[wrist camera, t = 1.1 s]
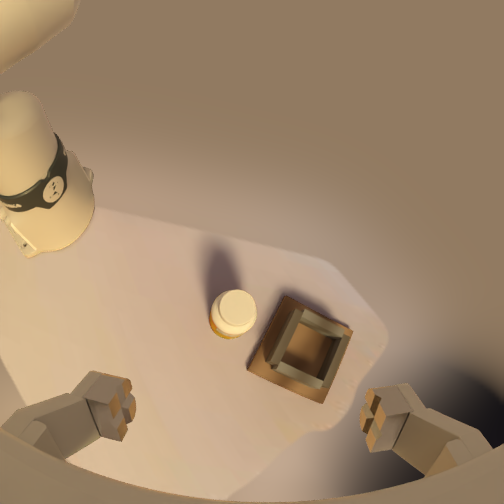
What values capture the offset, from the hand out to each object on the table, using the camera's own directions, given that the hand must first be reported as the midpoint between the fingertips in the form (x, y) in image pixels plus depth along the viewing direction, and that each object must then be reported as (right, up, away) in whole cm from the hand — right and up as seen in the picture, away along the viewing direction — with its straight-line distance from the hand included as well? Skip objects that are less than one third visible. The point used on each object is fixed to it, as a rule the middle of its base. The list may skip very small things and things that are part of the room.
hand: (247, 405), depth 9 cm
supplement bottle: (-3, -4, +31) cm, 32 cm away
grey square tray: (+7, -9, +31) cm, 33 cm away
